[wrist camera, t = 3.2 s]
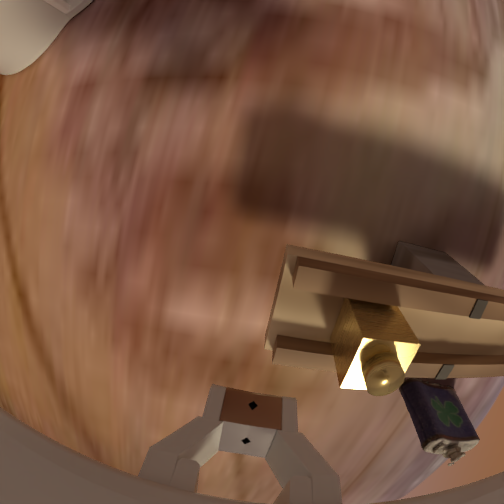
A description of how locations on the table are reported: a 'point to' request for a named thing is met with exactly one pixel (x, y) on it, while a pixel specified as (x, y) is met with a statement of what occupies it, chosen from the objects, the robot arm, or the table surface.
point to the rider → (372, 346)
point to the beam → (396, 294)
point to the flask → (439, 419)
